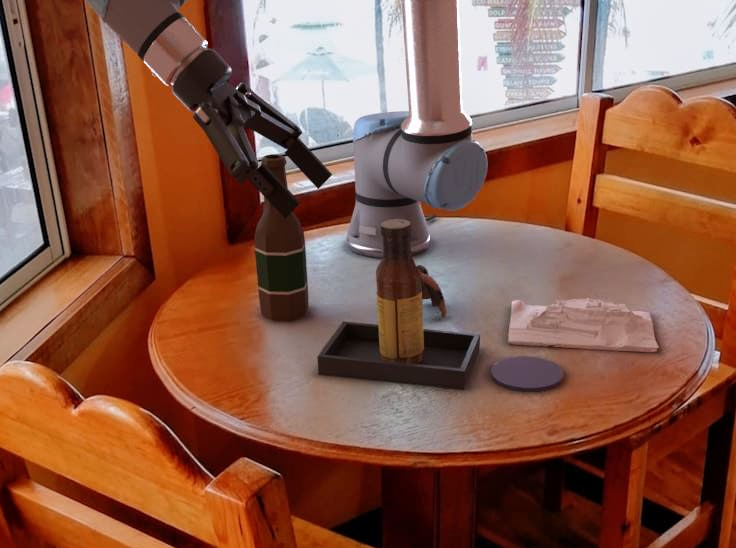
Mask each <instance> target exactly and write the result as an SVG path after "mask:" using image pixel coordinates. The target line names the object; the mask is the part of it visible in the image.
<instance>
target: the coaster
mask: <svg viewBox="0 0 736 548" xmlns="http://www.w3.org/2000/svg"><path fill="white" fill-rule="evenodd" d="M490 377H491V379H492V380H493V381H494V383H496V384H497V385H499V386H501V387H503V388H505V389H508V390H512V391H517V392H525V393H526V392H528V393H534V392H542V391H543V392H544V391H548V390H551V389H553V388H556V387H557V386H558V385H560V384H561V383H562V382H563V379H564V371H563V369H562V368H561V366H559V365H558V364H556V363H555V362H553V361H551V360H548V359H546V358H542V357H536V356H527V355H526V356H525V355H524V356H523V355H522V356H520V355H519V356H511V357H506V358H503V359H500V360H498V361H497V362H495V363H494V364H493V365H492V366H491V369H490Z"/></svg>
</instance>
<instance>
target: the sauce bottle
mask: <svg viewBox="0 0 736 548" xmlns="http://www.w3.org/2000/svg"><path fill="white" fill-rule="evenodd" d="M411 232H412V230H411V223H410V222H409V221H407V220H403V219H391V220H386V221H384V222H382V223H381V235H382V238H383V258H381V260H380V262H379V263H378V266H377V267H376V270H375V281H376V307H377V322H378V323H377V324H378V325H379V343H380V353H381V357H382V361H390V362H400V363H410V364H420V363H421V362H422V360H423V350H424V337H423V329H424V317H423V316H424V315H423V314H424V313H423V311H424V310H423V300H422V288H421V281H420V272H419V270H418V269H417V267H416V266H417V264H416V263H415V260H414V258H413V255H411V245H410V235H411Z"/></svg>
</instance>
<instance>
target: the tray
mask: <svg viewBox="0 0 736 548" xmlns="http://www.w3.org/2000/svg"><path fill="white" fill-rule="evenodd" d="M423 337H424V350H423V360H422V362H421V363H420V364H410V363H400V362H390V361H382V357H381V353H380V343H379V325H378V323H377V324H376V323H367V322H355V321H345V320H343V321H342V322H341V323H340V325H339V326H338V328H337V329H336V330H335V332H333V334H332V336H331V337H330V338H329V340H328V341H327V343H326V344H325V345H324V346H323V348H322V350H321V351H320V352H319V354H318V355H317V359H316V360H317V375H319V376H328V377H337V378H338V377H339V378H347V379H357V380H366V381H376V382H384V383H385V382H386V383H387V382H388V383H395V384H405V385H414V386H425V387H433V388H434V387H435V388H443V389H453V390H460V391H461V390H462V391H464V390H465V388H466V386H467V383H468V381H469V378H470V376H471V373H472V372H473V368H474V367H475V364H476V361H477V359H478V356H479V354H480V352H481V351H480V348H481V333H472V332H461V331H452V330H440V329H431V328H430V329H429V328H423Z"/></svg>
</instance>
